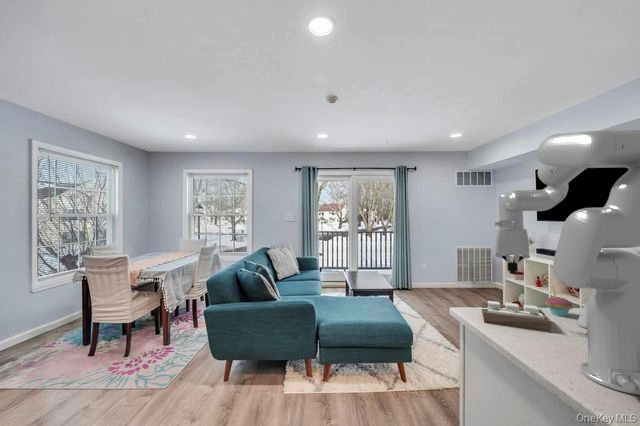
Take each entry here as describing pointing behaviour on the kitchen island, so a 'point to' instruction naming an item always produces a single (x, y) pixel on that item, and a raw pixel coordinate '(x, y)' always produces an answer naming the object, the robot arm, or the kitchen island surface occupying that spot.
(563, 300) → the cupcake
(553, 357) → the kitchen island surface
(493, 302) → the white square block
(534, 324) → the board
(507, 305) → the button mid
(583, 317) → the flask
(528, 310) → the button right
